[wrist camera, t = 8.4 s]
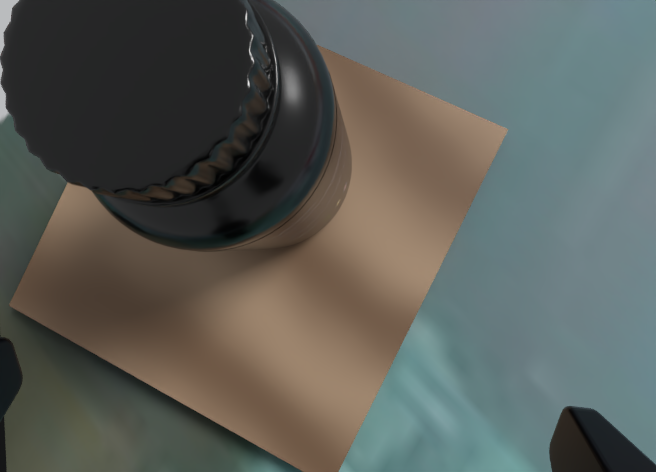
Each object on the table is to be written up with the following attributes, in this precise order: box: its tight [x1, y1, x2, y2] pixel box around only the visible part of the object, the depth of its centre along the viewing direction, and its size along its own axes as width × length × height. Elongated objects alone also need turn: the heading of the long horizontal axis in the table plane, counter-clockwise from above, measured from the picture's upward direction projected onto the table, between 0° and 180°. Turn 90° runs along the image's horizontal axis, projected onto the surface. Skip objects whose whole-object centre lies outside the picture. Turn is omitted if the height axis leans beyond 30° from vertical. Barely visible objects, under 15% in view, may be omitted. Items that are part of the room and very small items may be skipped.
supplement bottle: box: [0, 0, 352, 252], centre depth 14 cm, size 7×7×12 cm
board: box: [9, 45, 508, 472], centre depth 21 cm, size 16×16×1 cm
